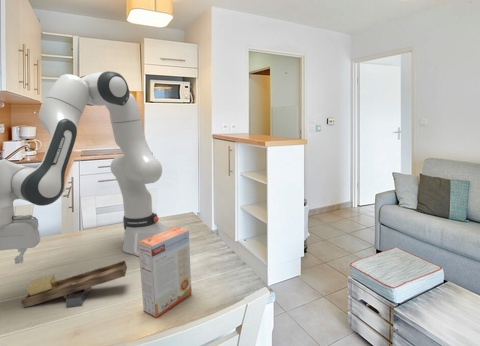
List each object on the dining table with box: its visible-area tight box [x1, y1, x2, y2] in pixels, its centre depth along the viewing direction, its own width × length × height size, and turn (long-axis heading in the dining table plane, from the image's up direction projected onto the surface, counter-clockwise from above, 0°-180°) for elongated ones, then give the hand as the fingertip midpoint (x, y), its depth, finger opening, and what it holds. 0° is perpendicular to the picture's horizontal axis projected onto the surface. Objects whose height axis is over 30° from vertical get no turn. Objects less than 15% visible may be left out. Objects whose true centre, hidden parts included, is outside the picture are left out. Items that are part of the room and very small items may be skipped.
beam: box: [21, 260, 128, 309], centre depth 92 cm, size 28×6×4 cm, turn 103°
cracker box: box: [138, 226, 192, 319], centre depth 87 cm, size 14×6×21 cm, turn 145°
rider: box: [26, 274, 58, 297], centre depth 89 cm, size 6×4×4 cm, turn 103°
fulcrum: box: [65, 289, 89, 308], centre depth 92 cm, size 4×12×2 cm, turn 15°
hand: (0, 264), depth 85 cm, fingers open, 8 cm apart
